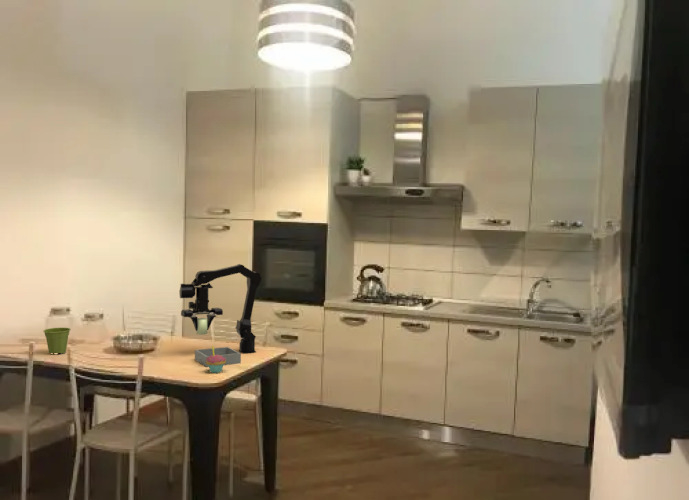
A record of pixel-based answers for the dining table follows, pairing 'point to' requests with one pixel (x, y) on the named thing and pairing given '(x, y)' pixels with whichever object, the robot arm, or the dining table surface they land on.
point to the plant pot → (57, 339)
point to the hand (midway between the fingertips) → (201, 330)
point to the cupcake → (215, 362)
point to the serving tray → (226, 352)
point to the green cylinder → (202, 326)
